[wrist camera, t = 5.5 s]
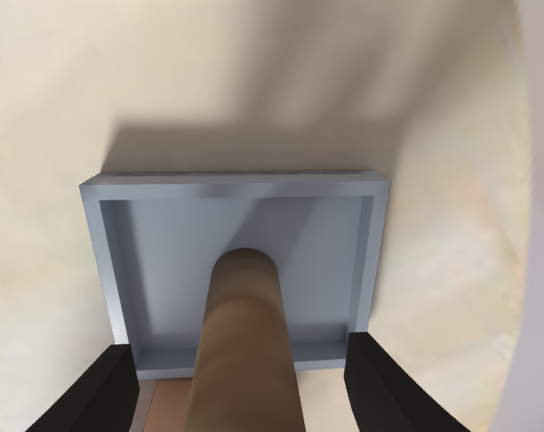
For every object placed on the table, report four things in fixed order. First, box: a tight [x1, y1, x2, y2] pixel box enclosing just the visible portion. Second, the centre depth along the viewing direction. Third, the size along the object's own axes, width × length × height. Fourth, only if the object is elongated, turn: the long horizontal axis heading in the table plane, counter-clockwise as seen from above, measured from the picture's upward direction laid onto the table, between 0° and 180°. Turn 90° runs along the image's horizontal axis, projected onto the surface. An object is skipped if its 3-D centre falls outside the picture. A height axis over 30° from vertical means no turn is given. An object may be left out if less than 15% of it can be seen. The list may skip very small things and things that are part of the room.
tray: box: [79, 170, 391, 380], centre depth 15 cm, size 12×10×2 cm
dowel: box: [183, 248, 306, 432], centre depth 12 cm, size 3×3×8 cm
